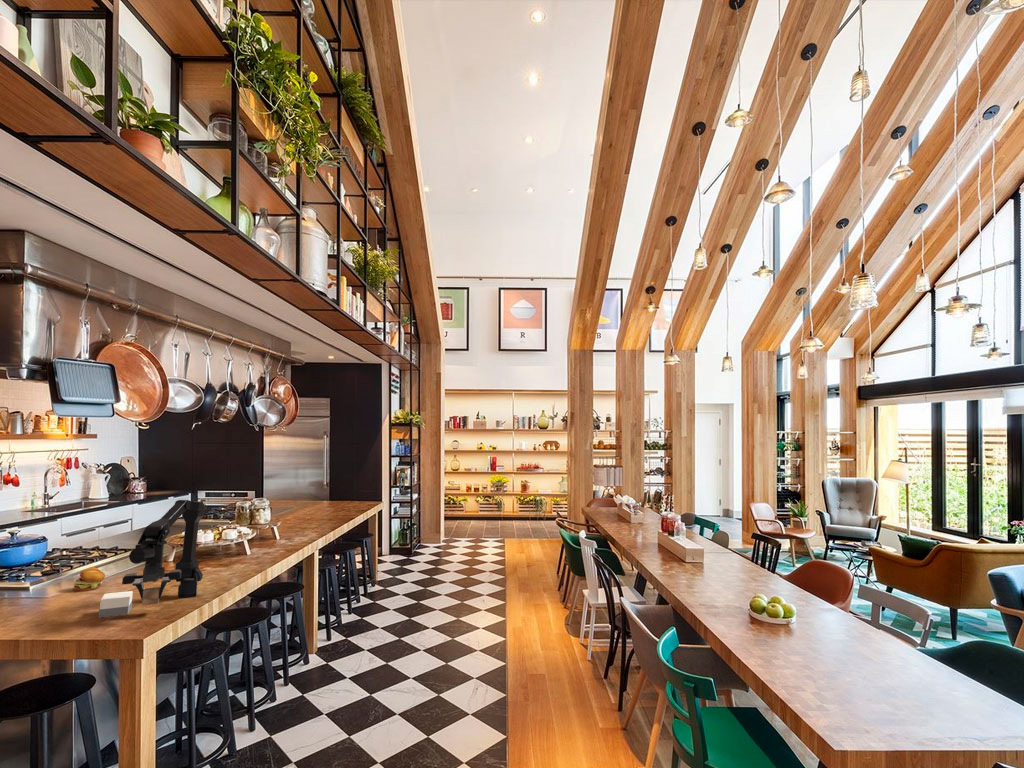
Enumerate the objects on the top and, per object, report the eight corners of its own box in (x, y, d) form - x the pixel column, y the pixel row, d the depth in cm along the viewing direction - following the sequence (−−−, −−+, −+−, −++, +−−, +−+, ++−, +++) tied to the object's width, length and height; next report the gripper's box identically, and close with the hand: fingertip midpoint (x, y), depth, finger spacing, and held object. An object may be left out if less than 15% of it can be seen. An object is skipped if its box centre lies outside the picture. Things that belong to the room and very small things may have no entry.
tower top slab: (132, 600, 216) (132, 590, 217) (128, 606, 209) (129, 596, 209) (104, 603, 212) (104, 593, 213) (99, 609, 204) (100, 599, 205)
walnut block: (159, 600, 213) (160, 586, 213) (157, 603, 209) (158, 590, 209) (144, 601, 211) (145, 588, 211) (142, 605, 206) (143, 591, 207)
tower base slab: (131, 609, 216) (132, 600, 216) (127, 615, 208) (128, 606, 208) (103, 612, 212) (104, 602, 212) (98, 619, 204) (99, 609, 204)
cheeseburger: (86, 584, 248) (93, 563, 249) (106, 591, 247) (113, 569, 248) (66, 590, 238) (73, 567, 239) (87, 597, 237) (94, 574, 238)
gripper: (120, 564, 200) (117, 608, 198) (180, 560, 208) (177, 602, 207) (126, 558, 210) (123, 600, 208) (182, 554, 218) (180, 594, 217)
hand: (151, 599), depth 210 cm, fingers closed on walnut block, 5 cm apart
